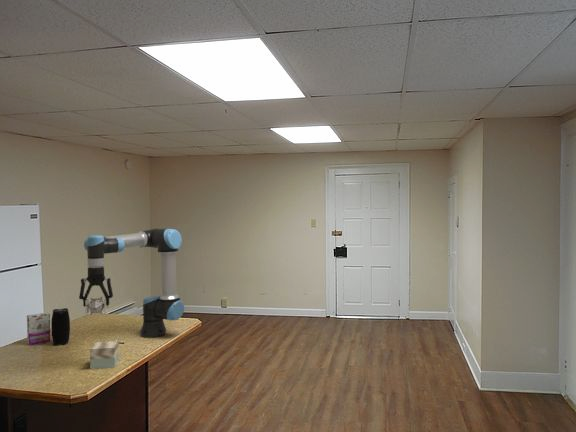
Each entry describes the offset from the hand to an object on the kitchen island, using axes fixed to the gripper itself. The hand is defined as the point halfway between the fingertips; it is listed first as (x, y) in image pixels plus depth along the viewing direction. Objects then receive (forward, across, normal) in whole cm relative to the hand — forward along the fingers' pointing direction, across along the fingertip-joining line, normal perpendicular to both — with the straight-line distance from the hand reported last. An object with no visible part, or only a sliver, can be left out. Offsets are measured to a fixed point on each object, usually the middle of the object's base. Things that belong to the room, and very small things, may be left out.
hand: (96, 312), depth 222 cm
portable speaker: (+26, +28, -38) cm, 54 cm away
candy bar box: (+26, +41, -43) cm, 65 cm away
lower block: (+26, -4, +2) cm, 26 cm away
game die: (+1, 0, 0) cm, 1 cm away
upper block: (+21, -4, +3) cm, 21 cm away
